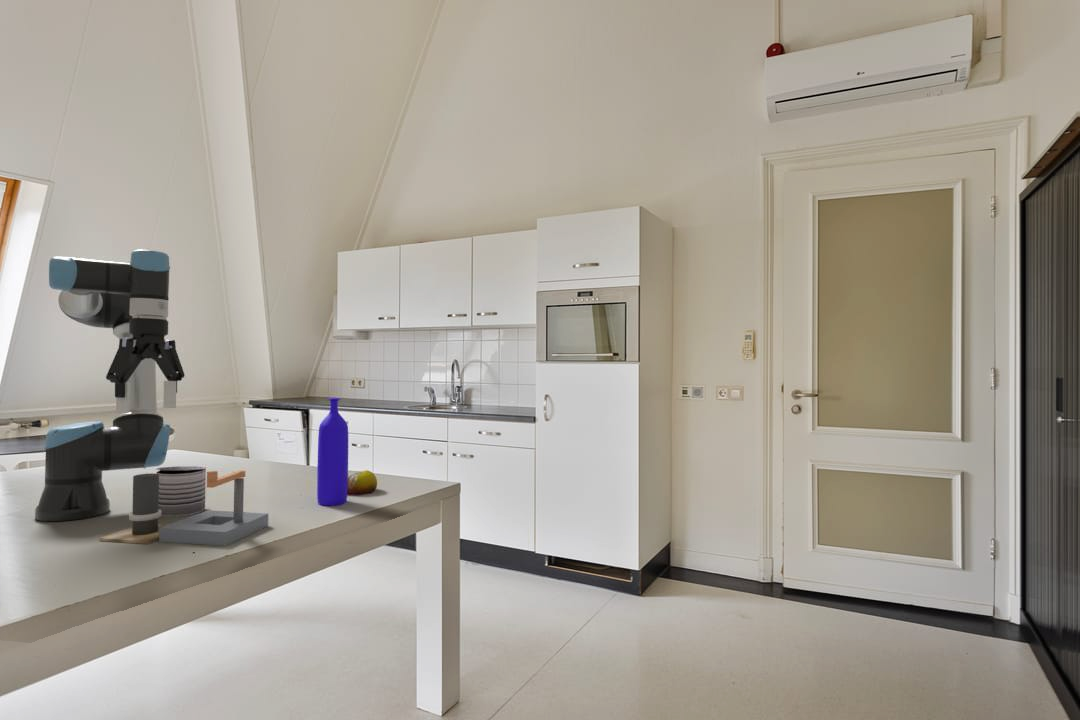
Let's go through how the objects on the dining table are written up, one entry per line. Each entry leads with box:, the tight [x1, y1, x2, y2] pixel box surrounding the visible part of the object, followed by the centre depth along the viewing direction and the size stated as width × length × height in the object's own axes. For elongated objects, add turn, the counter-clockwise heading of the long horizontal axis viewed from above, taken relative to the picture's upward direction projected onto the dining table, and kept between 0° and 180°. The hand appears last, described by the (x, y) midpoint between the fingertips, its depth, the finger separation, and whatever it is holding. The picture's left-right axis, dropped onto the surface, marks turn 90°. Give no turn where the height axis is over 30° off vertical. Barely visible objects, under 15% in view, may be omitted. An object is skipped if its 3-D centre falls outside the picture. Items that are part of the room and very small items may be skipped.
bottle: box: [316, 397, 349, 507], centre depth 170 cm, size 8×8×30 cm
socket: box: [158, 477, 269, 547], centre depth 139 cm, size 16×16×13 cm
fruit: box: [347, 470, 378, 496], centre depth 185 cm, size 11×10×8 cm
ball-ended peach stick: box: [206, 470, 246, 488], centre depth 133 cm, size 13×3×3 cm, turn 179°
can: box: [155, 465, 207, 518], centre depth 158 cm, size 11×11×12 cm
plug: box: [128, 472, 162, 535], centre depth 137 cm, size 6×6×13 cm
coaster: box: [98, 523, 167, 545], centre depth 137 cm, size 12×12×1 cm
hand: (147, 410), depth 137 cm, fingers open, 13 cm apart
